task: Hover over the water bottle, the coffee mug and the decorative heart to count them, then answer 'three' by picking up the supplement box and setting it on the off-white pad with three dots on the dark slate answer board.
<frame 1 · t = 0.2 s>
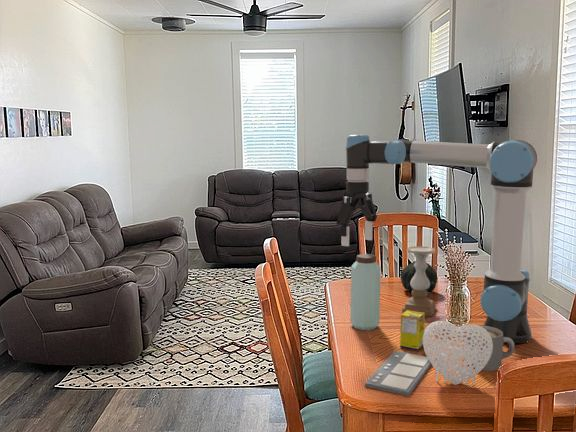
hand: (357, 242, 201), 29 cm above the table, tool pointing down, fingers open, 13 cm apart
squash: (418, 292, 246), on the table
coffee mug: (489, 365, 171), on the table
answer board: (401, 373, 165), on the table
water bottle: (364, 326, 204), on the table
supplement box: (411, 347, 185), on the table
decorative heart: (455, 384, 158), on the table
candle holder: (419, 311, 221), on the table
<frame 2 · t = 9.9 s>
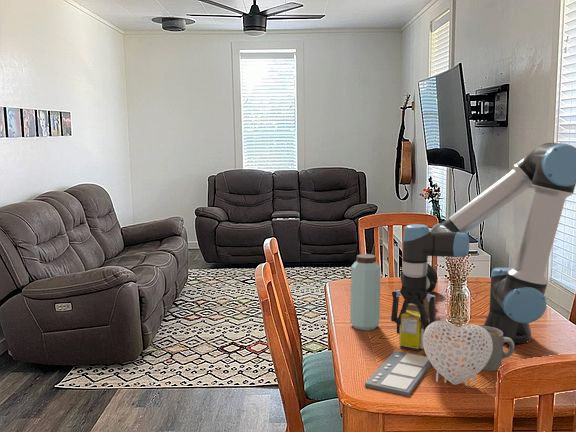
hand: (412, 345, 185), 0 cm above the table, tool pointing down, fingers closed on supplement box, 6 cm apart
supplement box: (411, 347, 185), on the table, touching gripper
everything else where it was.
when the fingers open (3 cm above the table, at t = 16.3 s): supplement box drops 1 cm, resting on answer board.
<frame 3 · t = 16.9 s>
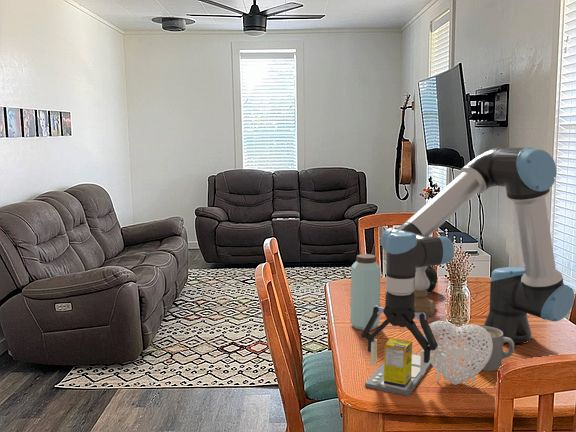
hand: (397, 368, 156), 5 cm above the table, tool pointing down, fingers open, 13 cm apart
supplement box: (397, 382, 157), point 1 cm above the table, touching answer board
everything else where it was.
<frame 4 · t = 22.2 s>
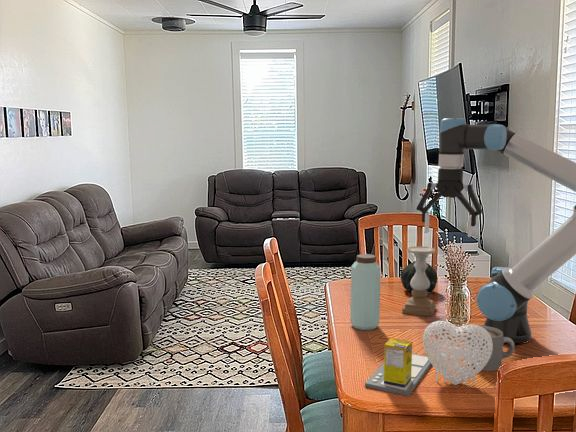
hand: (447, 234, 187), 35 cm above the table, tool pointing down, fingers open, 13 cm apart
nothing on the table moved.
at the end: supplement box 0.1 cm from the target spot on the answer board, point 1.0 cm above the answer board's base; supplement box tilted 0°; the gripper is holding nothing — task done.
